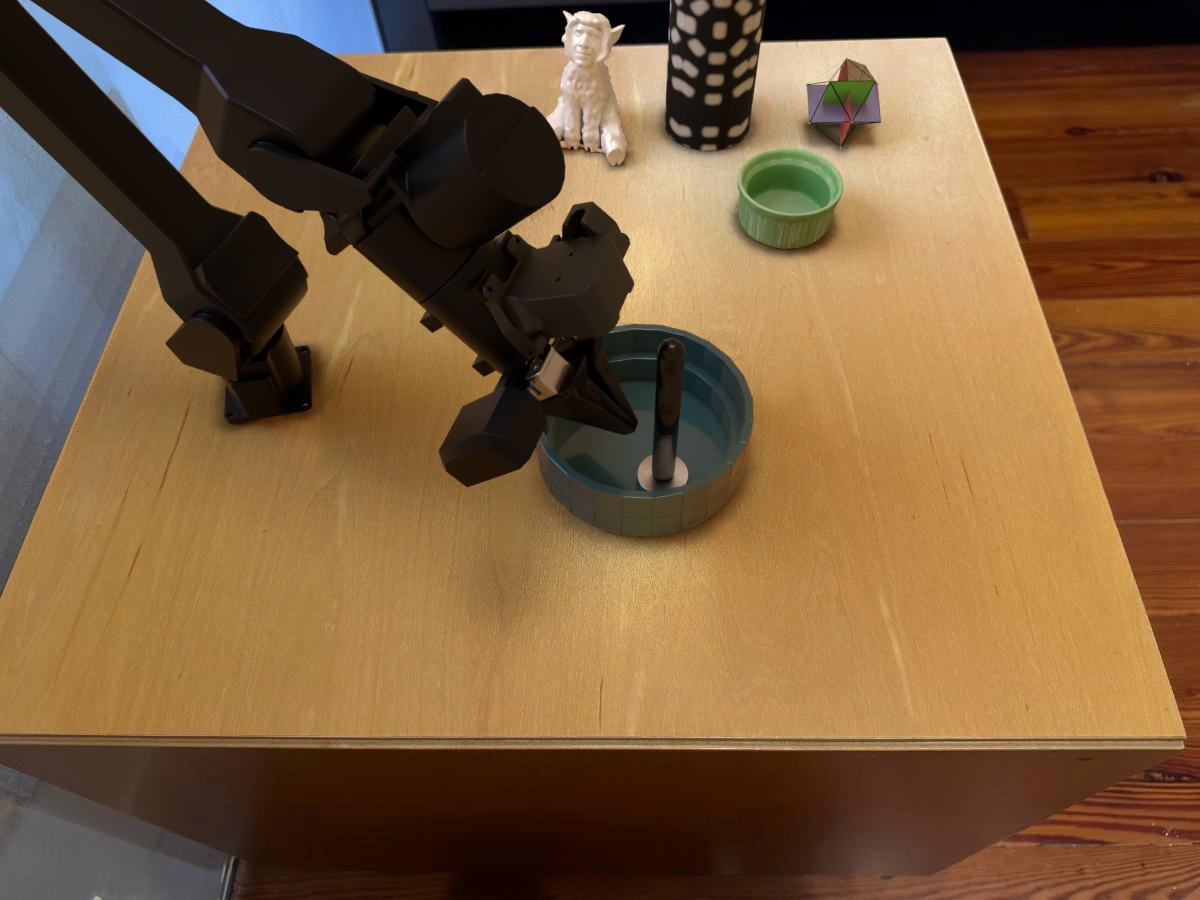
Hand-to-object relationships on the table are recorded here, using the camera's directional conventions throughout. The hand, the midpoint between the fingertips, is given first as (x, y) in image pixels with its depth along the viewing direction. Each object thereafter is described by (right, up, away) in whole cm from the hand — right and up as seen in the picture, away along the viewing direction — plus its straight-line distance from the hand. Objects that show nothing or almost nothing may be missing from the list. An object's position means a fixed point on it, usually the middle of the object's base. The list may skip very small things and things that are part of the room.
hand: (632, 429), depth 59 cm
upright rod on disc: (+2, -4, +6) cm, 7 cm away
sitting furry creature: (-4, +29, +31) cm, 43 cm away
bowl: (+1, -1, +9) cm, 9 cm away
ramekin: (+14, +19, +23) cm, 33 cm away
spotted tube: (+8, +31, +32) cm, 45 cm away
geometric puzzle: (+21, +29, +30) cm, 47 cm away
